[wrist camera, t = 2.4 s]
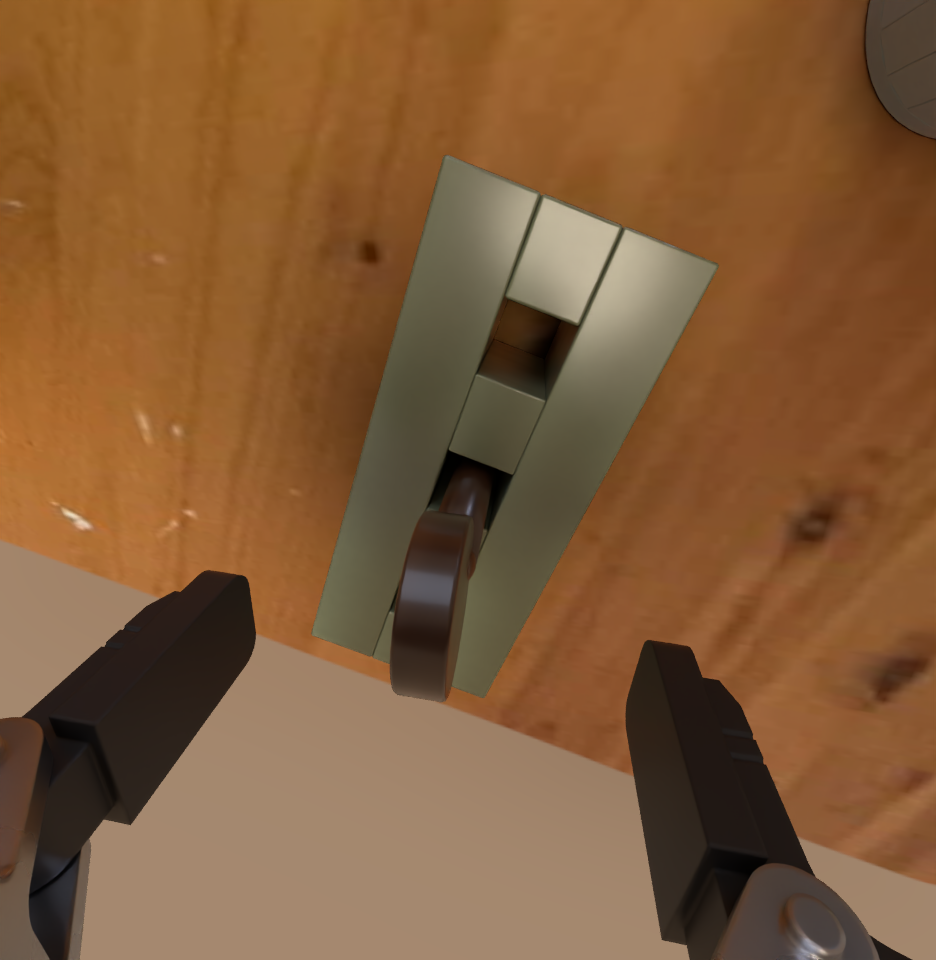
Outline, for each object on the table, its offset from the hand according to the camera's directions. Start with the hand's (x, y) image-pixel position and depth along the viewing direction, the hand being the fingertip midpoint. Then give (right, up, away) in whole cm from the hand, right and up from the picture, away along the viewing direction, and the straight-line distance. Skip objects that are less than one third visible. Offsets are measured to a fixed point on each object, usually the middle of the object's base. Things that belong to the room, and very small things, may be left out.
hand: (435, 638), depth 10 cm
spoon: (+1, +5, +11) cm, 13 cm away
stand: (+1, +5, +11) cm, 13 cm away
